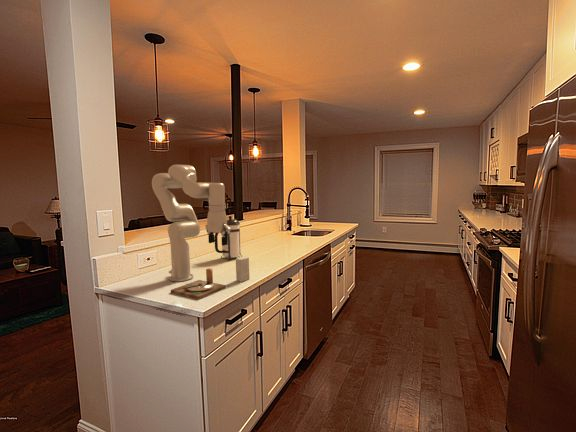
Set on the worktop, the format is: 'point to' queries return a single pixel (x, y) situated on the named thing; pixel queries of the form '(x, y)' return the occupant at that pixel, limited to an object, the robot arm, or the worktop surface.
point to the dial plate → (197, 294)
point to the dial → (202, 283)
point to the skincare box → (242, 269)
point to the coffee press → (231, 240)
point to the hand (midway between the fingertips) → (218, 243)
